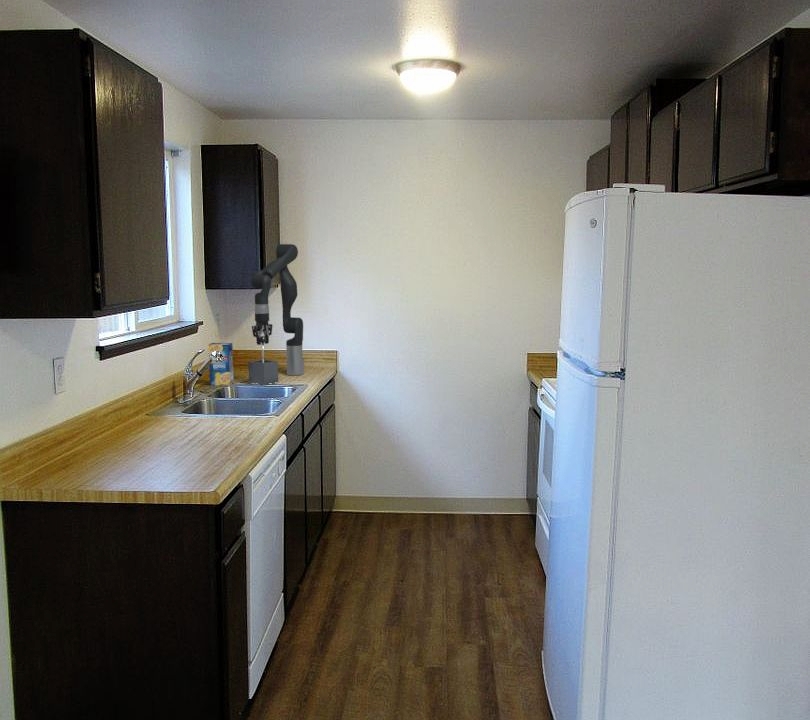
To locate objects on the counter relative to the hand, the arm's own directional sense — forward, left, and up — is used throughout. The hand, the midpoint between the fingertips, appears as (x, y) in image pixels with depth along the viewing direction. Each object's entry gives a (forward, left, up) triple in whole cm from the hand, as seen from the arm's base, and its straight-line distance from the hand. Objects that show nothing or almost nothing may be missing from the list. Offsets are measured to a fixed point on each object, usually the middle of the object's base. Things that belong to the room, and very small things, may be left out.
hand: (262, 344), depth 395 cm
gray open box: (0, 0, -21) cm, 21 cm away
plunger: (0, 0, -12) cm, 12 cm away
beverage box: (+14, -17, -22) cm, 31 cm away
